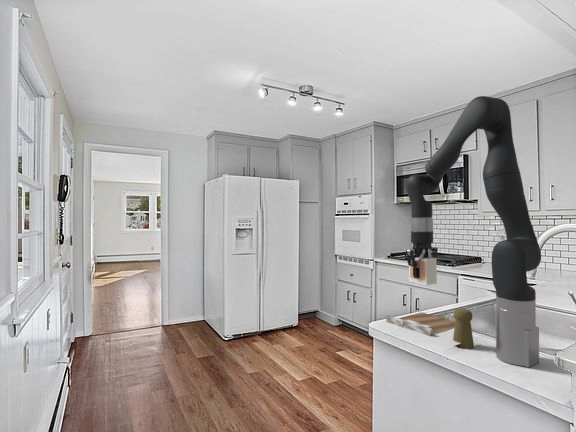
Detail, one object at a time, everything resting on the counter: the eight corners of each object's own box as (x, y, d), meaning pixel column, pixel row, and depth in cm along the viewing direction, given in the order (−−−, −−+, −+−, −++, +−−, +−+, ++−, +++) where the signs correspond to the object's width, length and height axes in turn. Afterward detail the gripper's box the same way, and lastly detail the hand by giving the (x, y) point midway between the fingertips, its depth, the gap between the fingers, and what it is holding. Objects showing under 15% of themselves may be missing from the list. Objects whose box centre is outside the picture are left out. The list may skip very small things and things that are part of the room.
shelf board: (465, 328, 124) (465, 318, 124) (429, 340, 113) (429, 329, 113) (421, 316, 139) (421, 307, 139) (385, 325, 128) (385, 316, 128)
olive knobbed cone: (478, 348, 106) (477, 312, 106) (457, 349, 106) (457, 312, 106) (468, 341, 112) (468, 306, 112) (448, 341, 113) (448, 306, 112)
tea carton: (436, 283, 126) (436, 258, 126) (426, 285, 124) (426, 259, 124) (418, 279, 133) (418, 255, 133) (408, 281, 131) (408, 256, 131)
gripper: (427, 229, 135) (427, 273, 135) (399, 230, 128) (399, 277, 129) (444, 229, 128) (444, 276, 129) (415, 231, 122) (416, 281, 122)
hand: (422, 276), depth 129 cm, fingers closed on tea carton, 5 cm apart
